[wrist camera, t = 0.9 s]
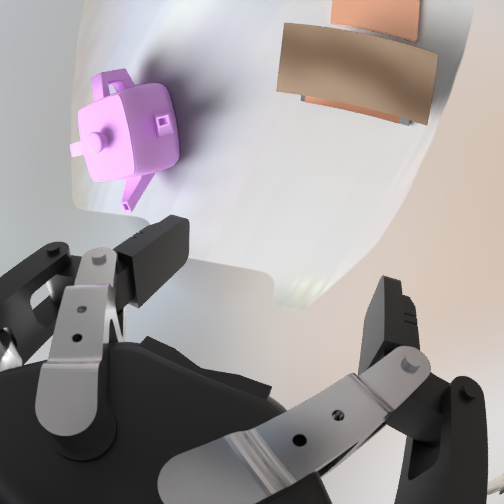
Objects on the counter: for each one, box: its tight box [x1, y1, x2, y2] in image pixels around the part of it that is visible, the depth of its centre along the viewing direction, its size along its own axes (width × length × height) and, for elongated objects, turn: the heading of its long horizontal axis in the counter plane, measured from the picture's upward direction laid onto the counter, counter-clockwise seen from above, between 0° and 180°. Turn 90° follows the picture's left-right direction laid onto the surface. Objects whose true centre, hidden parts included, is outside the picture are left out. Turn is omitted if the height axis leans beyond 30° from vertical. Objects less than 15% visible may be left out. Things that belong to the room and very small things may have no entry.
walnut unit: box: [276, 23, 438, 126], centre depth 25 cm, size 8×14×16 cm, turn 84°
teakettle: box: [70, 69, 180, 212], centre depth 40 cm, size 17×17×12 cm
